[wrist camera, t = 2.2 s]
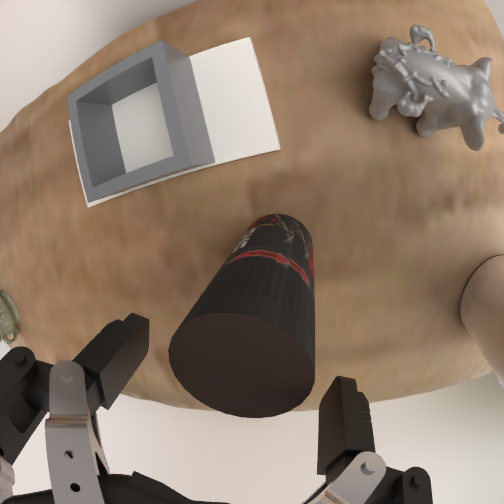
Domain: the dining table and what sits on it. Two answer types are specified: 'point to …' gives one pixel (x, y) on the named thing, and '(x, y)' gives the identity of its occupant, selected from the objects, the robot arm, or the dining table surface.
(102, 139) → the socket stand
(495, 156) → the dining table surface
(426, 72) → the gray elephant figurine
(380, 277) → the dining table surface
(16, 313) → the vessel
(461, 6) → the dining table surface
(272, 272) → the deodorant
